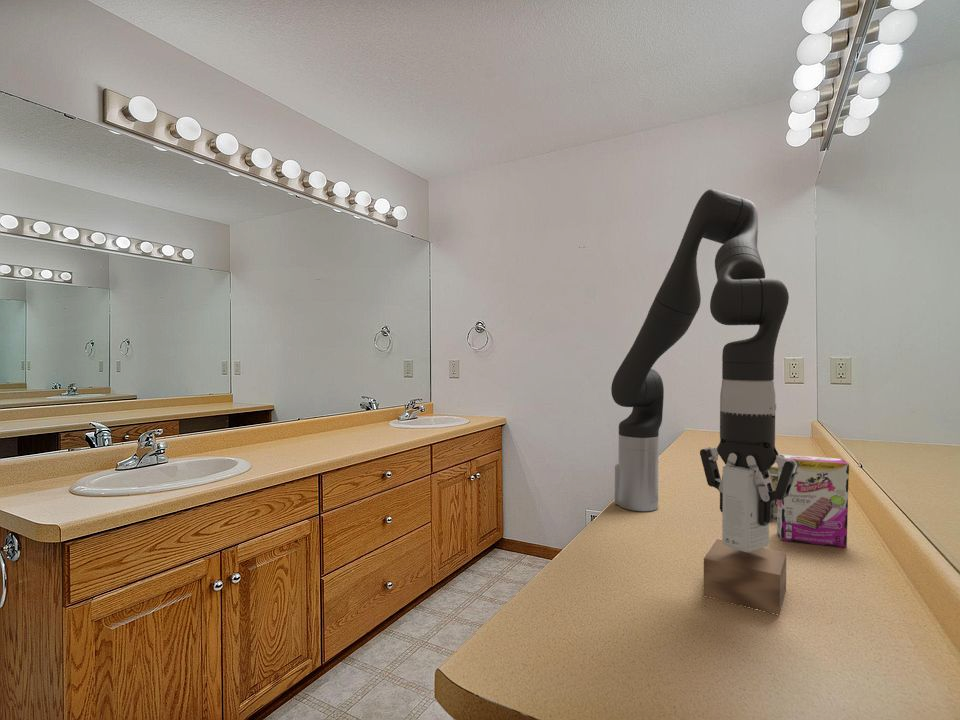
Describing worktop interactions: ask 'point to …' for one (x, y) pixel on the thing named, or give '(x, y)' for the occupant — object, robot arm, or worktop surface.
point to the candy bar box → (815, 502)
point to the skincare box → (742, 511)
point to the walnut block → (746, 577)
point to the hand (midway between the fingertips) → (746, 519)
